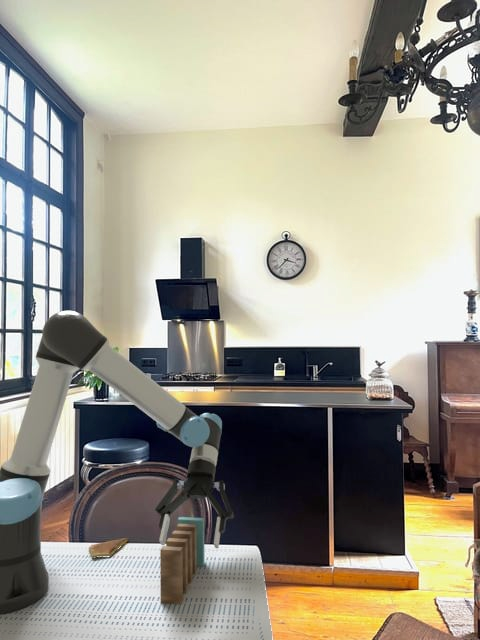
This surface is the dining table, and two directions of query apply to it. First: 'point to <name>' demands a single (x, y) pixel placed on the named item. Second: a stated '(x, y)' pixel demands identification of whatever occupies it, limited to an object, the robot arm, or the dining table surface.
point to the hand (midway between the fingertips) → (188, 544)
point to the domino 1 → (200, 536)
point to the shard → (106, 547)
